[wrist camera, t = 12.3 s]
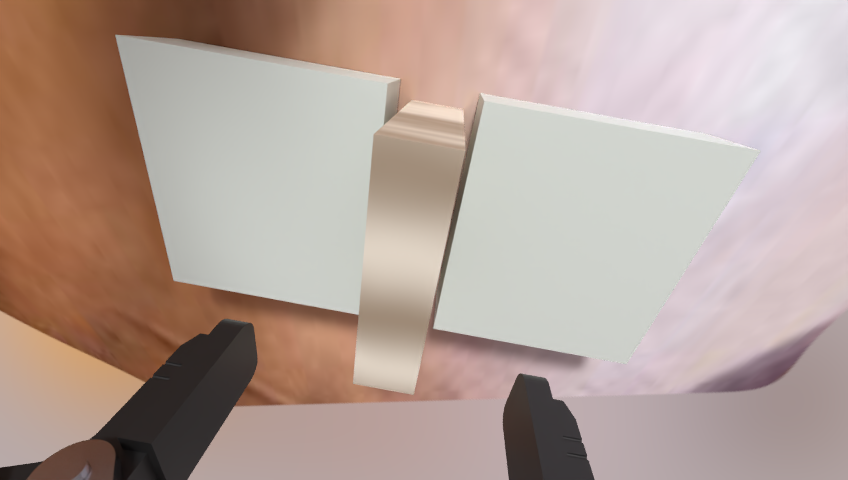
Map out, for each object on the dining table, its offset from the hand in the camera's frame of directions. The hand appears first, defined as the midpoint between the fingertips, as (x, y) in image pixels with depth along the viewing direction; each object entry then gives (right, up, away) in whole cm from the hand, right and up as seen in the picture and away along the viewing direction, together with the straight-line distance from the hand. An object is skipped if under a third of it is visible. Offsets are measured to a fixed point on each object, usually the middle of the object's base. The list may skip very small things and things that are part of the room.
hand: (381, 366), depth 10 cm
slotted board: (+1, +6, +12) cm, 14 cm away
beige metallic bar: (+1, +6, +12) cm, 14 cm away
